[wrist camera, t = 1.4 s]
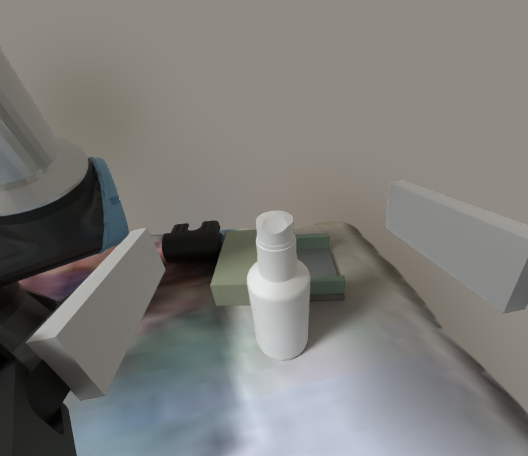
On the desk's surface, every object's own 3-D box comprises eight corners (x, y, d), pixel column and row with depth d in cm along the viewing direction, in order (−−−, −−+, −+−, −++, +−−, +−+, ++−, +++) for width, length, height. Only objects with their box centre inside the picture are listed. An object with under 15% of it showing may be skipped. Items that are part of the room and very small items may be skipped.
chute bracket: (216, 305, 35) (210, 285, 32) (230, 249, 47) (226, 231, 44) (344, 302, 33) (348, 280, 31) (326, 245, 45) (327, 226, 43)
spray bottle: (305, 312, 32) (308, 200, 23) (311, 362, 27) (319, 240, 17) (258, 313, 33) (241, 204, 23) (254, 361, 27) (230, 243, 18)
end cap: (169, 272, 42) (157, 243, 39) (179, 249, 48) (169, 222, 45) (222, 266, 42) (215, 237, 39) (225, 244, 48) (219, 217, 45)
